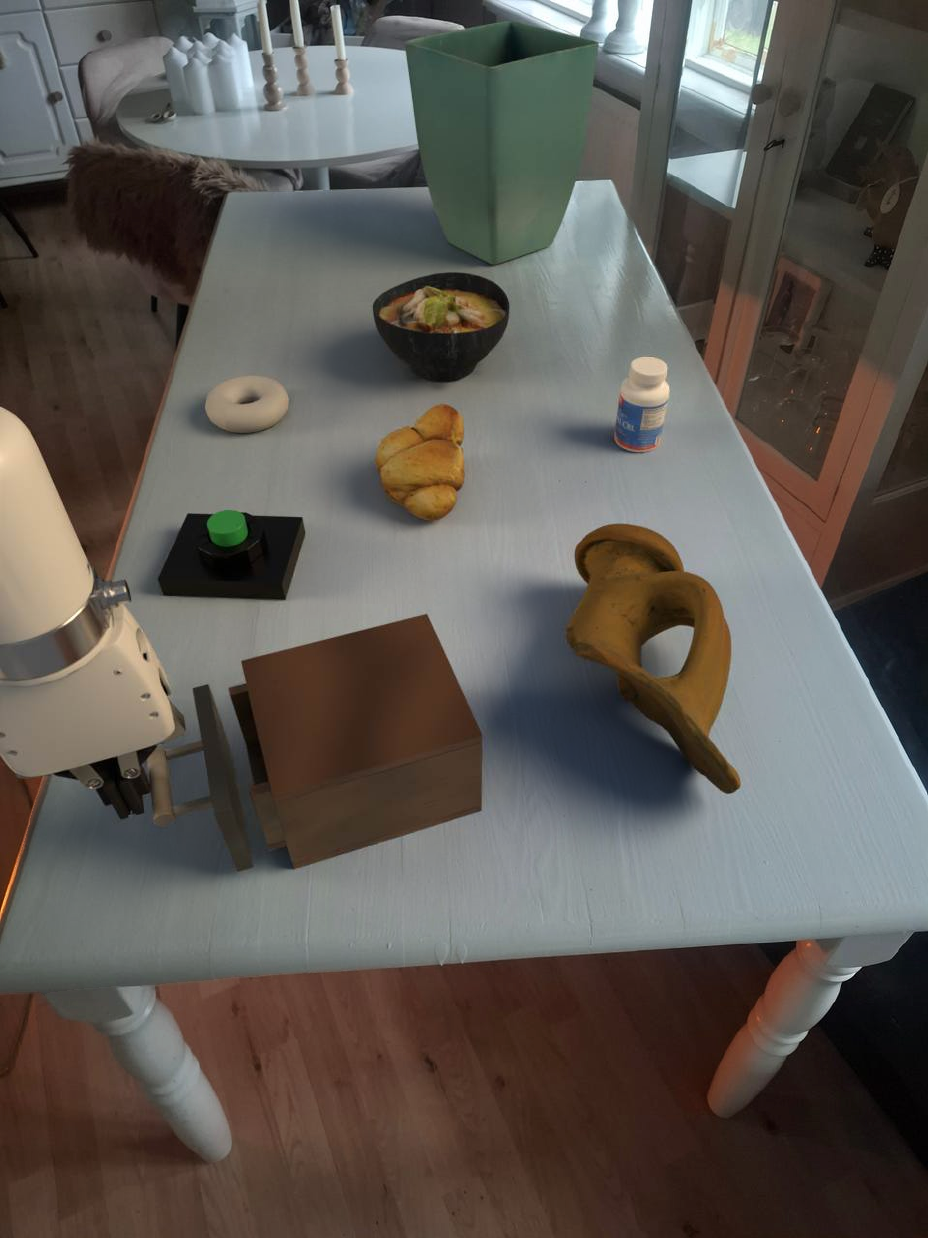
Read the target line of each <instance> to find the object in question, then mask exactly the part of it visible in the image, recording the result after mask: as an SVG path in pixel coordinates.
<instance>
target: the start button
mask: <svg viewBox="0 0 928 1238" xmlns="http://www.w3.org/2000/svg"><path fill="white" fill-rule="evenodd" d="M240 512H241V511H238V510H236V509H235V510H234V509H224V510H221V511H218V512H215V513H213V514H214V515H212V516H211V517H210V518H209V519H208V521H207V528H208V531H209V535H210V538H211V541H212V542H213V543H214V544H215V545H217V546H221V547H230V546H234V545H237V544H240V543H241V542H243V541H244V540H245V539H246V537H247V535H248V529H247V525H246V521H245V517H244V515H243V514H242V513H240Z"/></svg>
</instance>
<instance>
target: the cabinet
mask: <svg viewBox="0 0 928 1238" xmlns="http://www.w3.org/2000/svg"><path fill="white" fill-rule="evenodd" d="M240 662H241V668H242V671H243V676H244V680H245V683H246V685H247V689H248V694H249V698H250V703H251V707H252V711H253V716H254V720H255V724H256V729H257V733H258V738H259V742H260V746H261V751H262V755H263V760H264V764H265V768H266V773H267V777H268V781H269V786H270V790H271V795H272V798H273V802H274V805H275V808H276V812H277V815H278V818H279V821H280V825H281V828H282V831H283V835H284V838H285V841H286V844H287V846H286V847H287V850H288V854H289V858H290V860H291V864H292V868H293V869H294V870H296V869H299V868H303V867H305V866H308V865H311V864H312V865H313V864H315V863H318V862H322V861H325V860H328V859H332V858H334V857H337V856H341V855H344V854H347V853H350V852H354V851H357V850H360V849H363V848H367V847H369V846H373V845H377V844H379V843H383V842H385V841H389V840H392V839H395V838H398V837H401V836H405V835H408V834H412V833H415V832H418V831H421V830H423V829H427V828H431V827H433V826H436V825H439V824H443V823H447V822H449V821H453V820H456V819H459V818H462V817H465V816H468V815H472V814H475V813H478V812H481V811H482V810H483V809H482V808H483V733H482V731H481V728H480V726H479V723H478V722H477V720H476V717H475V716H474V713H473V711H472V709H471V706H470V704H469V702H468V700H467V698H466V695H465V693H464V691H463V688H462V687H461V685H460V682H459V680H458V678H457V675H456V674H455V671H454V670H453V666H452V665H451V663H450V661H449V658H448V656H447V654H446V651H445V649H444V648H443V645H442V643H441V641H440V638H439V637H438V634H437V632H436V629H435V628H434V625H433V623H432V621H431V619H430V617H429V615H428V613H424V614H420V615H417V616H411V617H407V618H405V619H404V618H403V619H401V620H397V621H393V622H389V623H385V624H379V625H377V626H373V627H369V628H365V629H361V630H356V631H353V632H349V633H345V634H340V635H337V636H333V637H330V638H329V637H328V638H325V639H321V640H318V641H314V642H313V641H312V642H310V643H306V644H301V645H298V646H294V647H289V648H286V649H282V650H278V651H274V652H271V653H266V654H263V655H258V656H254V657H251V658H246V659H243V660H241V661H240Z"/></svg>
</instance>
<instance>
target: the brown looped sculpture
mask: <svg viewBox="0 0 928 1238" xmlns="http://www.w3.org/2000/svg"><path fill="white" fill-rule="evenodd" d="M574 564H575V568H576V570H577V573H578V574H579V576H580V577H581V579H582V580H583V581H584V582H585V584H587V586H586V589H585V591H584V593H583V595H582V597H581V599H580V601H579V603H578V605H577V607H576V609H575V610H574V612H573V614H572V615H571V618H570V619H569V621H568V623H567V626H566V627H565V635H564V636H565V641H566V643H567V645H568V647H570V648H571V649H572V650H573V652H574V653H575V655H576V656H577V657H578V658H579V659H583V660H587V661H590V662H593V663H596V664H599V665H601V666H603V667H606V668H608V669H610V670H612V671H614V672H616V677H617V689H618V695H619V696H620V697H621V698H622V699H623V700H624V701H625V702H626V703H631V704H632V705H633V706H634V707H635V709H636V710H637V711H639V712H640V713H641V714H642V715H643V716H644V717H645V718H646V719H647V720H649V721H650V722H653V723H655V724H656V725H658V726H660V727H662V728H663V729H664V730H665V731H666V732H667V734H668V735H669V736H670V738H671V739H672V740H673V742H674V743H675V745H676V747H677V748H678V750H679V752H680V754H681V755H682V756H683V758H684V759H685V760H686V761H687V763H689V764H690V765H691V766H692V767H693V768H694V770H695V771H696V772H697V773H698V774H699V775H702V776H704V777H705V778H706V779H707V780H708V781H709V782H710V783H711V784H712V785H714V787H716V788H717V789H718V790H719V791H721V792H722V793H724V794H726V795H730V794H733V793H735V792H737V791H738V790H740V788H741V786H742V782H741V777H740V775H739V773H738V770H736V769H735V767H733V766H732V764H730V763H729V762H728V760H727V758H726V757H725V756H724V755H723V753H722V752H721V751H720V749H719V748H718V747H717V746H716V744H715V743H714V742H713V740H711V739H710V733H711V730H712V727H713V726H714V724H715V722H716V720H717V718H718V716H719V713H720V711H721V708H722V705H723V701H724V698H725V694H726V691H727V690H726V689H727V685H728V680H729V675H730V669H731V662H732V635H731V632H730V627H729V623H728V622H727V620H726V617H725V613H724V609H723V605H722V602H721V600H720V598H719V595H718V593H717V592H716V590H715V588H714V587H713V586H712V585H711V583H710V582H708V581H707V580H706V579H705V578H703V577H701V576H700V575H697V574H695V573H692V572H689V571H685V569H684V564H683V561H682V558H681V557H680V555H679V552H678V551H677V549H676V547H675V546H674V544H672V543H671V541H669V539H667V538H666V537H665V536H664V535H662V534H661V533H659V532H657V531H655V530H653V529H651V528H648V527H645V526H642V525H636V524H630V523H612V524H611V523H610V524H605V525H603V526H599V527H598V528H596V529H594V530H592V531H590V532H589V533H587V534H586V535H584V537H583V538H582V539H581V540H580V541H579V542H578V543H577V544H576V546H575V548H574ZM678 626H679V627H680V626H685V627H691V628H693V634H692V635H693V636H692V640H691V644H690V647H689V650H688V654H687V655H686V659H685V662H684V663H683V665H682V667H681V669H680V671H679V672H677V673H676V674H674V675H670V676H666V677H657V676H653V675H651V674H650V673H648V671H646V670H645V669H643V666H642V659H641V656H642V654H641V652H642V646H643V645H645V644H646V643H647V642H649V640H651V639H652V638H654V637H655V636H658V635H659V634H661V633H663V632H665V631H667V630H670V629H672V628H676V627H678Z"/></svg>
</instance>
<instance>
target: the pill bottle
mask: <svg viewBox="0 0 928 1238" xmlns="http://www.w3.org/2000/svg"><path fill="white" fill-rule="evenodd" d="M667 374H668V364H667V363H666V362H665V361H664V360H662V359H661V358H657V357H652V356H640V357H637V358H635V359H633V360H632V361H631V363H630V365H629V371H628V376H627V377H626V378H624V380H623V381H622V383H621V385H620V391H619V398H618V404H617V405H618V406H617V412H616V420H615V426H614V432H613V433H614V434H613V437H614V441H615V443H616V445H618V446H619V447H620V448H621V449H623V450H625V451H627V452H633V453H647V452H650V451H653V450H655V449H656V448H657V447H658V446H659V445H660V443H661V440H662V435H663V429H664V425H665V420H666V419H665V418H666V413H667V408H668V403H669V399H670V398H669V397H670V386H669V384H668V382H667V381H666V379H667Z"/></svg>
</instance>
